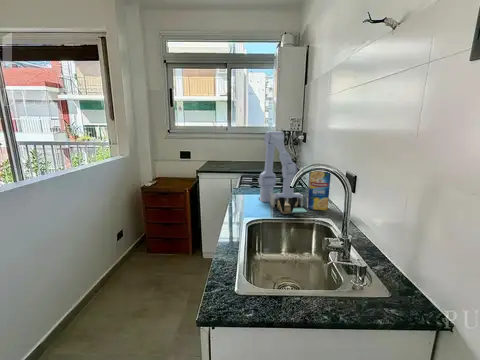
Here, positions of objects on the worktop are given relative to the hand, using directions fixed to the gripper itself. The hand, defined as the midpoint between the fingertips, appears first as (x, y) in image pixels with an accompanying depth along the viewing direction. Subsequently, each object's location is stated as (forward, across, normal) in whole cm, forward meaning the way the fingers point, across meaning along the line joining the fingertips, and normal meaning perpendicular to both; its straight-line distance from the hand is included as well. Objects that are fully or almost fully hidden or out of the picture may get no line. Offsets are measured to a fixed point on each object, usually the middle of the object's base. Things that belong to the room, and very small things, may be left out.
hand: (287, 211), depth 144 cm
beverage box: (+2, +21, +9) cm, 23 cm away
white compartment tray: (+1, +4, +16) cm, 17 cm away
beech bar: (+2, 0, +6) cm, 6 cm away
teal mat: (+1, +8, +5) cm, 9 cm away
